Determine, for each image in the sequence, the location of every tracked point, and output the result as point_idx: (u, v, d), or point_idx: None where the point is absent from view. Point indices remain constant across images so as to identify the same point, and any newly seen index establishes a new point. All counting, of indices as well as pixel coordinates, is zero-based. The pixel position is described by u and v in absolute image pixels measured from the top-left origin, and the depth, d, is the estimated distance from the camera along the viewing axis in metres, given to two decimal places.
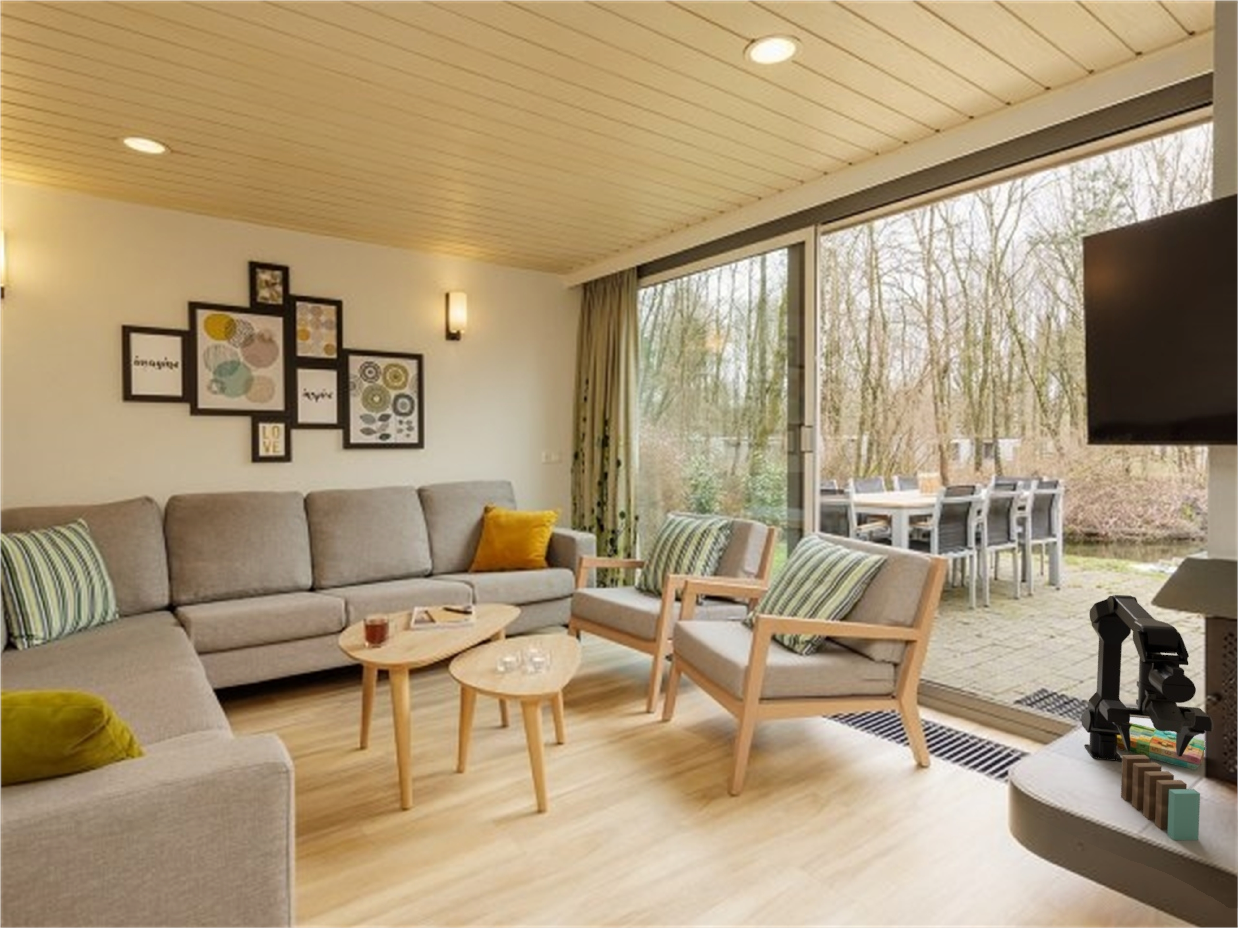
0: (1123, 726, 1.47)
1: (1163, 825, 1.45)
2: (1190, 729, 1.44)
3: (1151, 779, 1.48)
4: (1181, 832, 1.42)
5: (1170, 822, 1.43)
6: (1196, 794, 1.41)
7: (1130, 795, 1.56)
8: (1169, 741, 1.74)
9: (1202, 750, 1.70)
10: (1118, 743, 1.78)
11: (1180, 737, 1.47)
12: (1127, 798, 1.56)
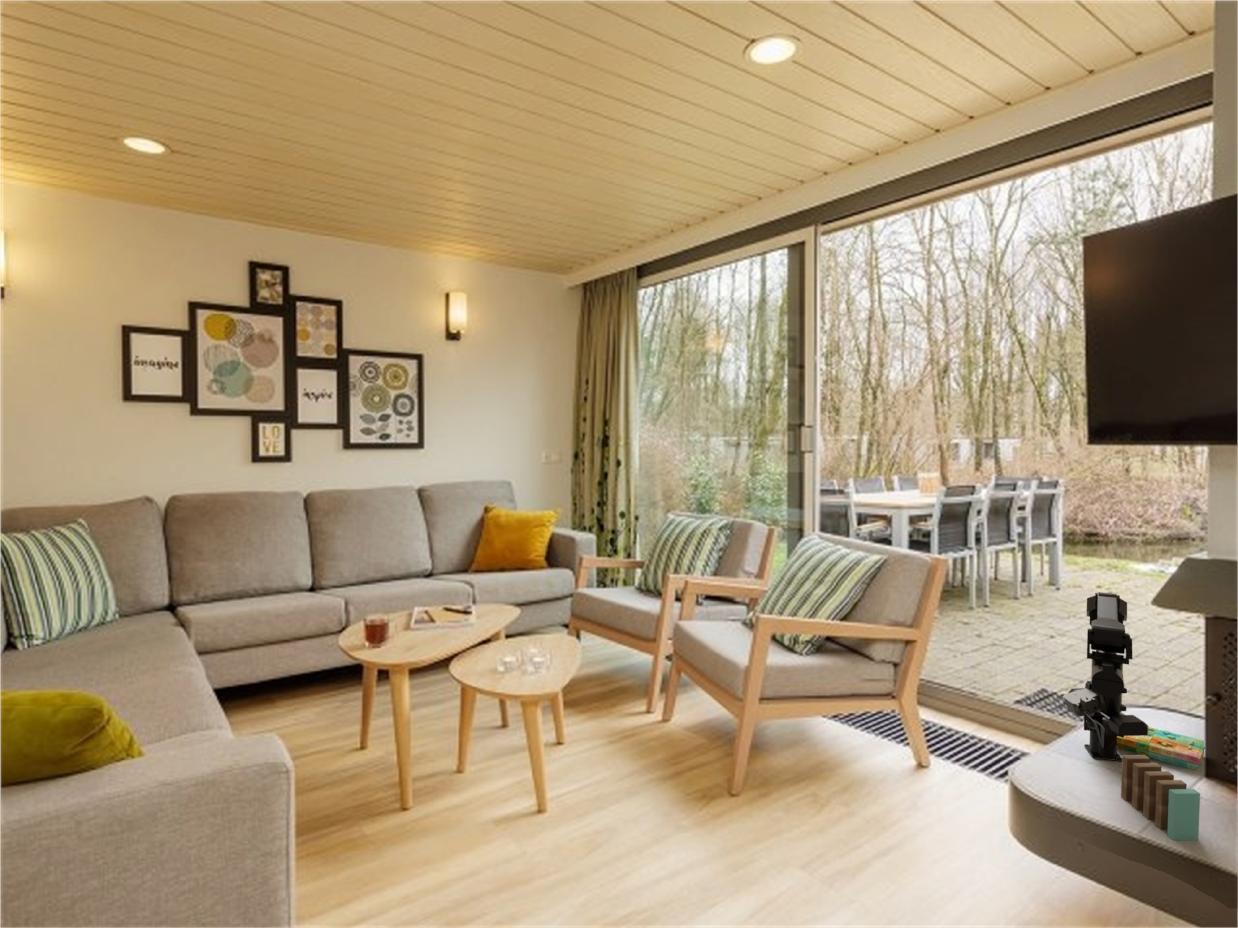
0: (1088, 716, 1.58)
1: (1163, 825, 1.45)
2: (1099, 720, 1.55)
3: (1151, 779, 1.48)
4: (1181, 832, 1.42)
5: (1170, 822, 1.43)
6: (1196, 794, 1.41)
7: (1130, 795, 1.56)
8: (1169, 741, 1.74)
9: (1202, 750, 1.70)
10: (1118, 743, 1.78)
11: None
12: (1127, 798, 1.56)
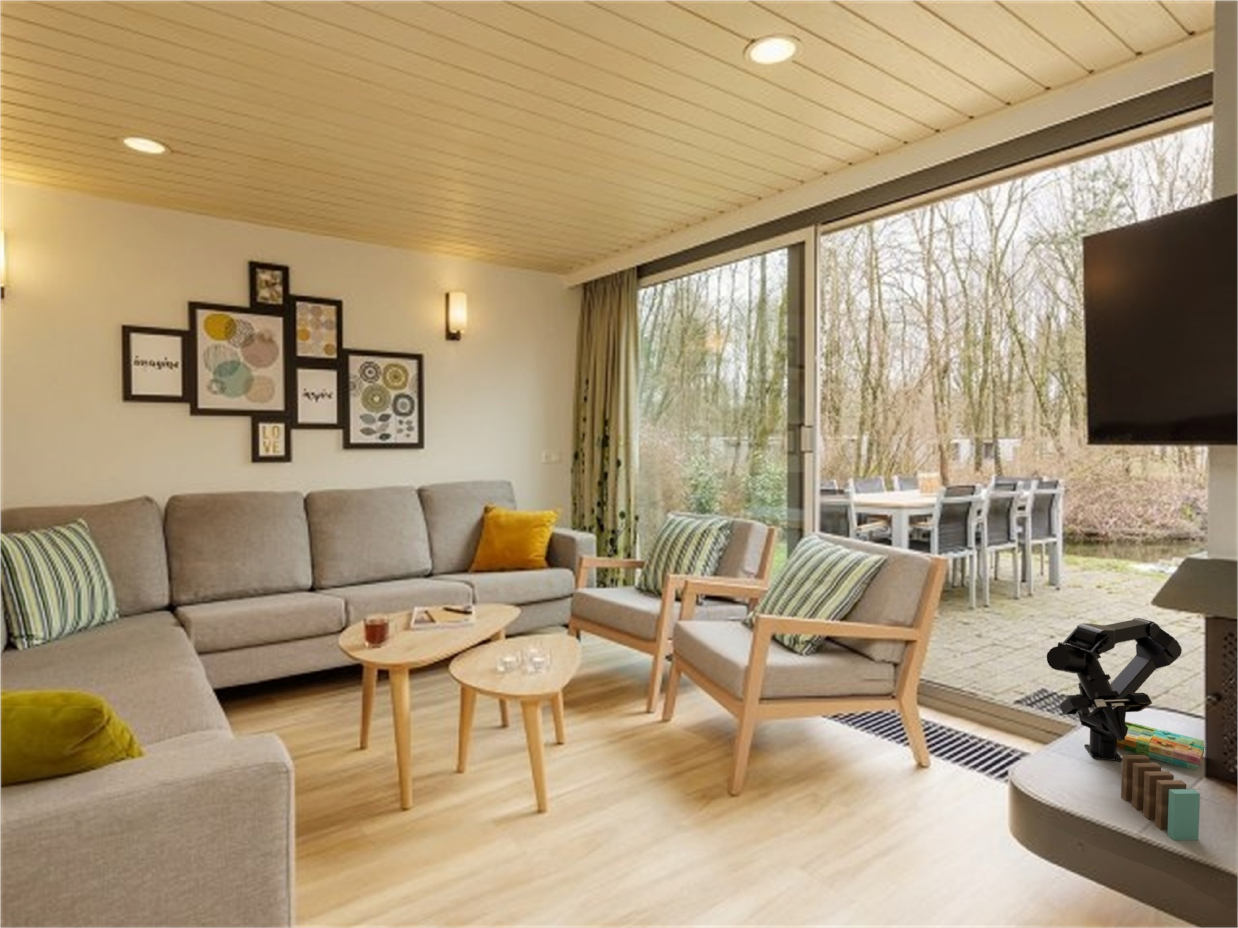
0: None
1: (1163, 825, 1.45)
2: None
3: (1151, 779, 1.48)
4: (1181, 832, 1.42)
5: (1170, 822, 1.43)
6: (1196, 794, 1.41)
7: (1130, 795, 1.56)
8: (1169, 741, 1.74)
9: (1202, 750, 1.70)
10: (1118, 743, 1.78)
11: None
12: (1127, 798, 1.56)
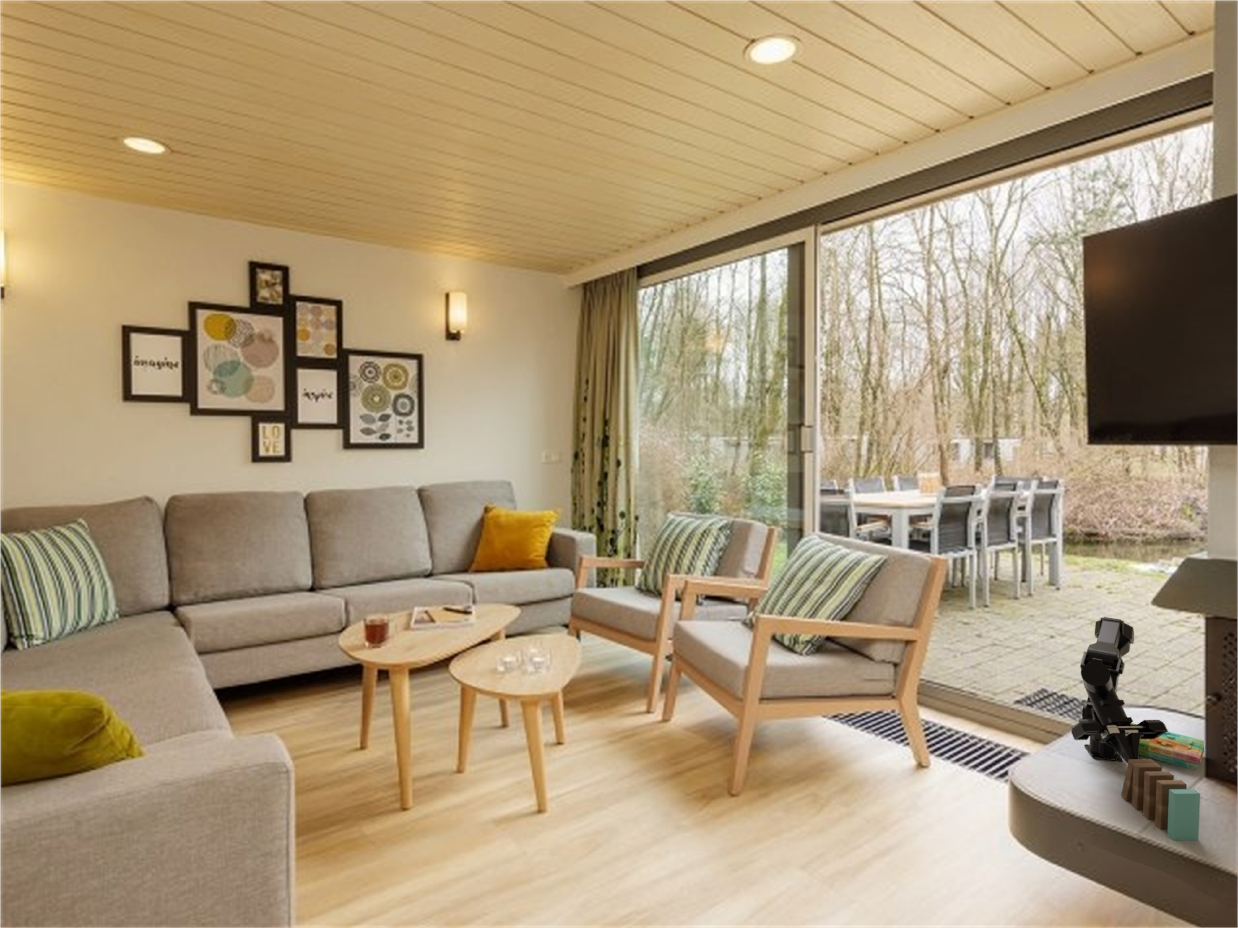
0: None
1: (1163, 825, 1.45)
2: None
3: (1151, 779, 1.48)
4: (1181, 832, 1.42)
5: (1170, 822, 1.43)
6: (1196, 794, 1.41)
7: (1131, 796, 1.55)
8: (1168, 741, 1.74)
9: (1201, 750, 1.70)
10: None
11: None
12: (1127, 798, 1.56)
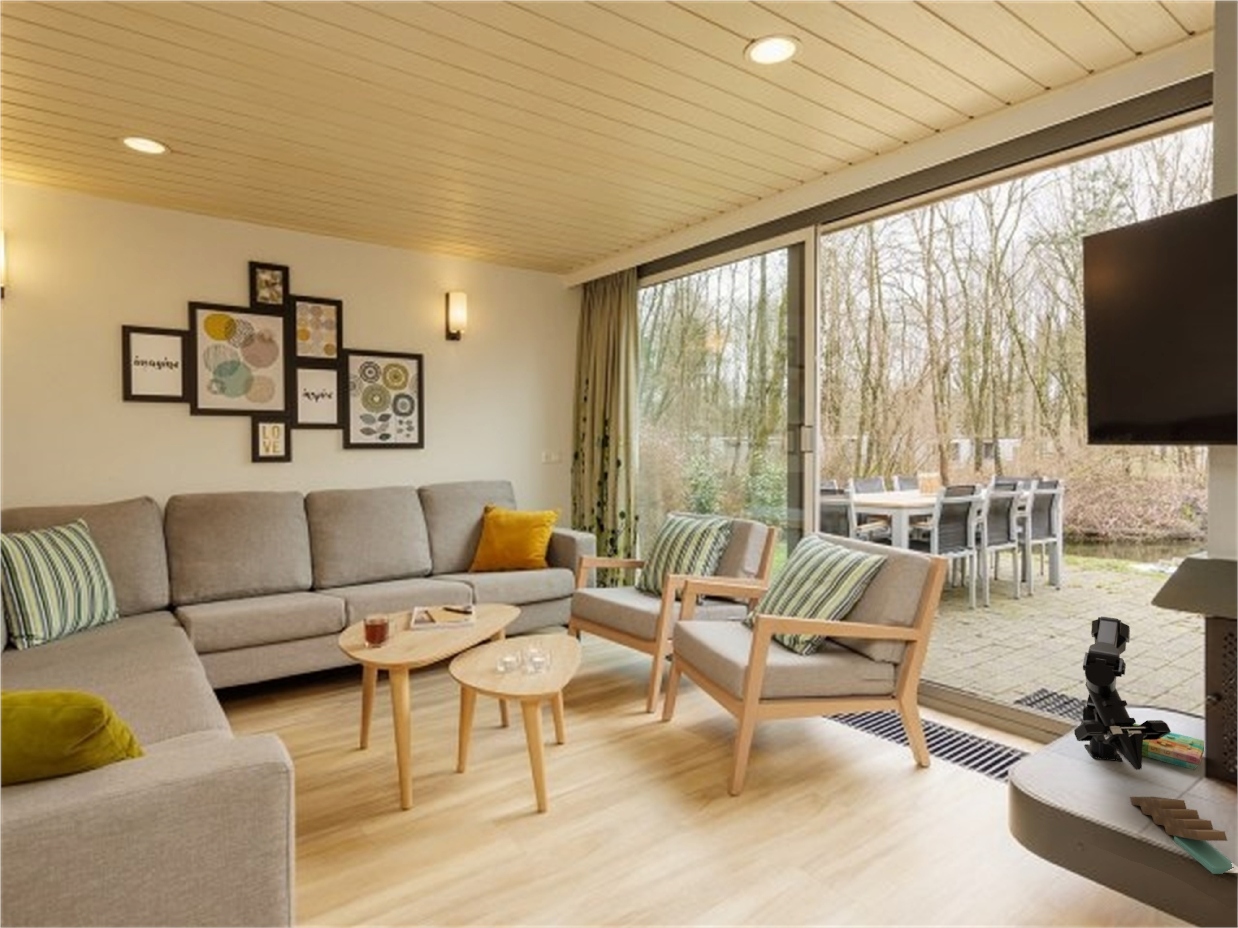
0: None
1: None
2: None
3: (1186, 828, 1.39)
4: None
5: (1185, 848, 1.39)
6: None
7: None
8: (1168, 741, 1.74)
9: (1201, 750, 1.70)
10: None
11: None
12: None
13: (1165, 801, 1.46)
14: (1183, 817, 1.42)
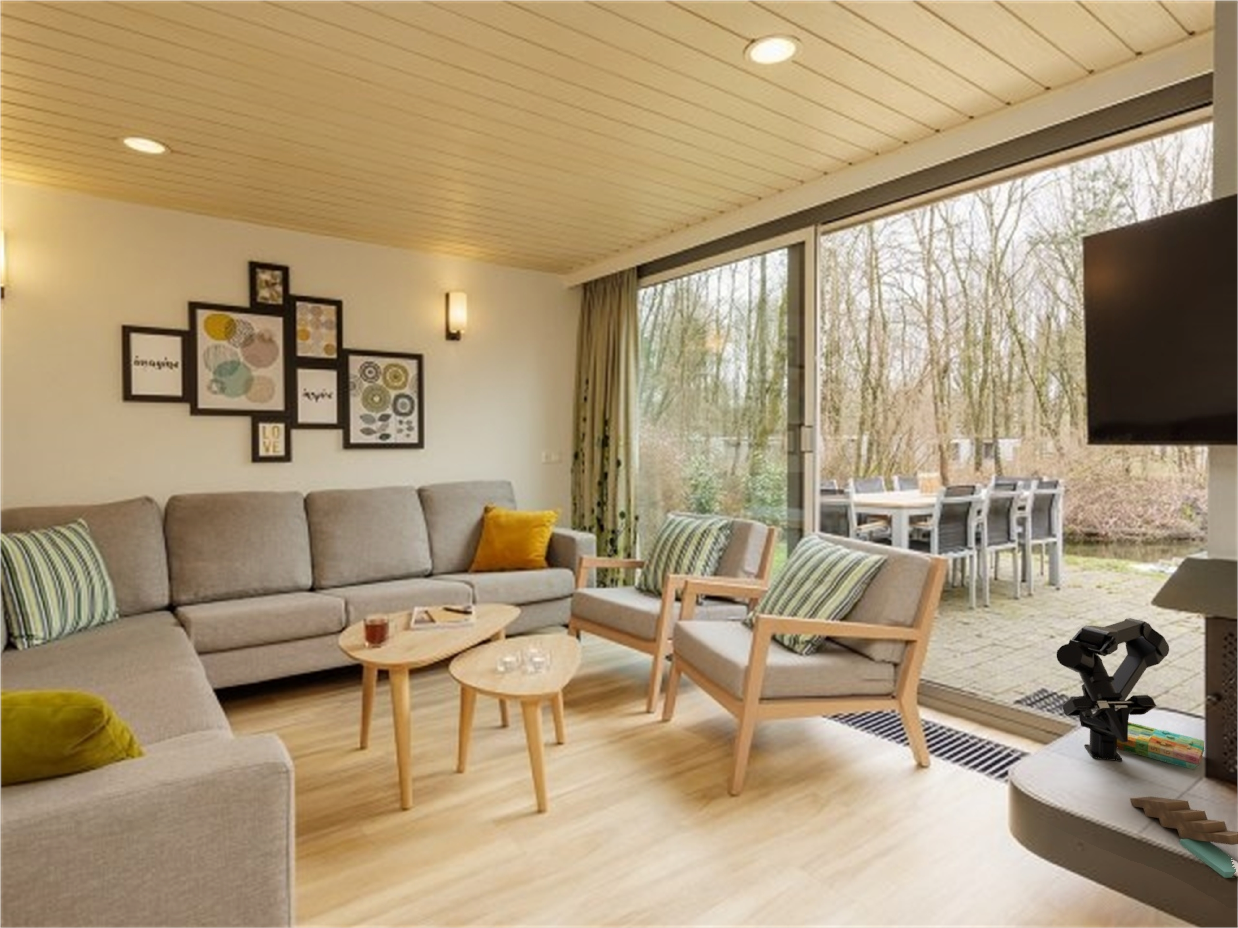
0: None
1: None
2: None
3: (1204, 831, 1.38)
4: None
5: (1193, 852, 1.37)
6: None
7: None
8: (1168, 741, 1.74)
9: (1201, 750, 1.70)
10: (1117, 742, 1.78)
11: None
12: None
13: (1171, 803, 1.45)
14: (1193, 819, 1.41)
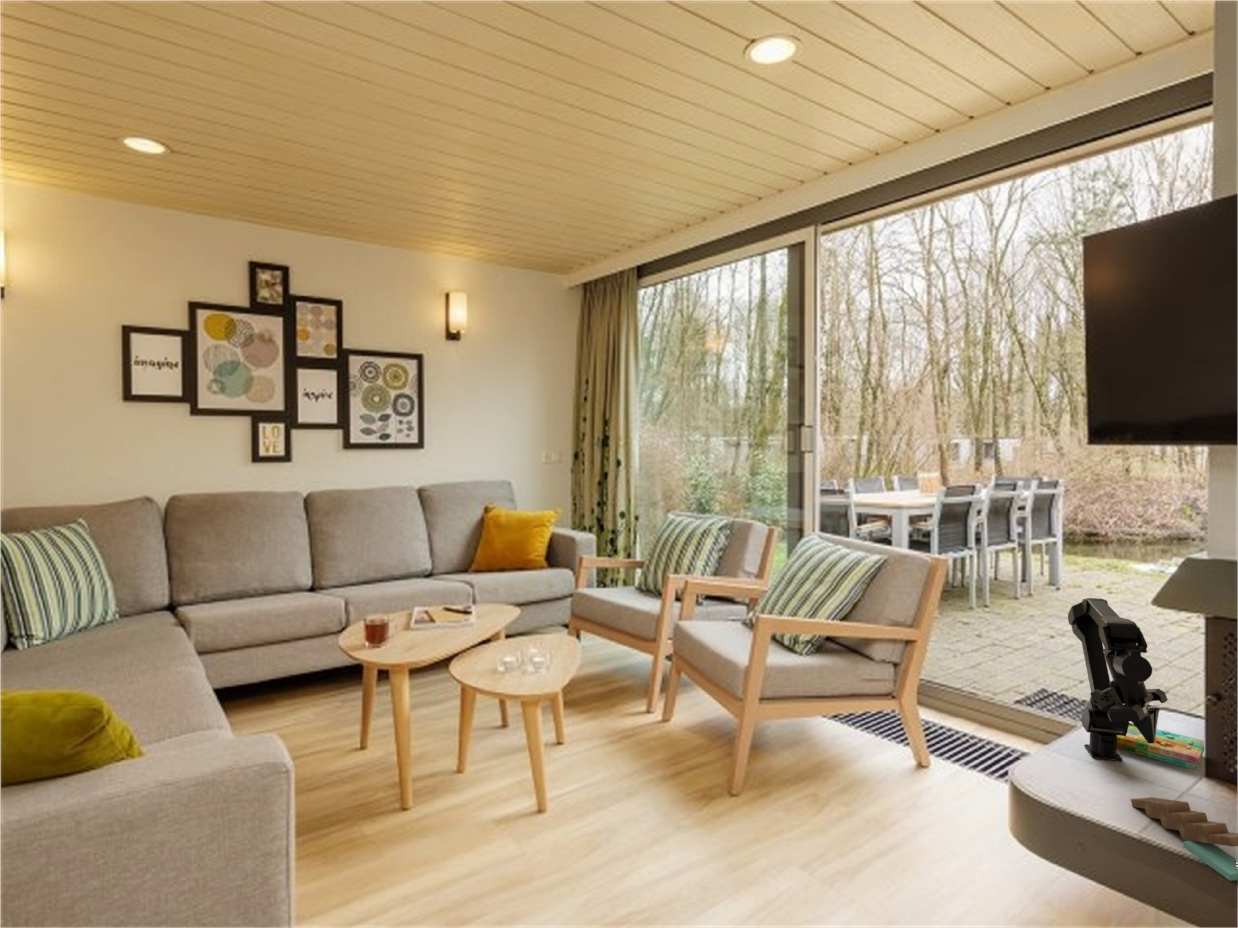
0: None
1: None
2: None
3: (1204, 833, 1.37)
4: None
5: (1197, 854, 1.37)
6: None
7: None
8: (1168, 741, 1.74)
9: (1201, 750, 1.70)
10: (1117, 742, 1.78)
11: None
12: (1136, 806, 1.53)
13: (1171, 804, 1.45)
14: (1193, 821, 1.41)
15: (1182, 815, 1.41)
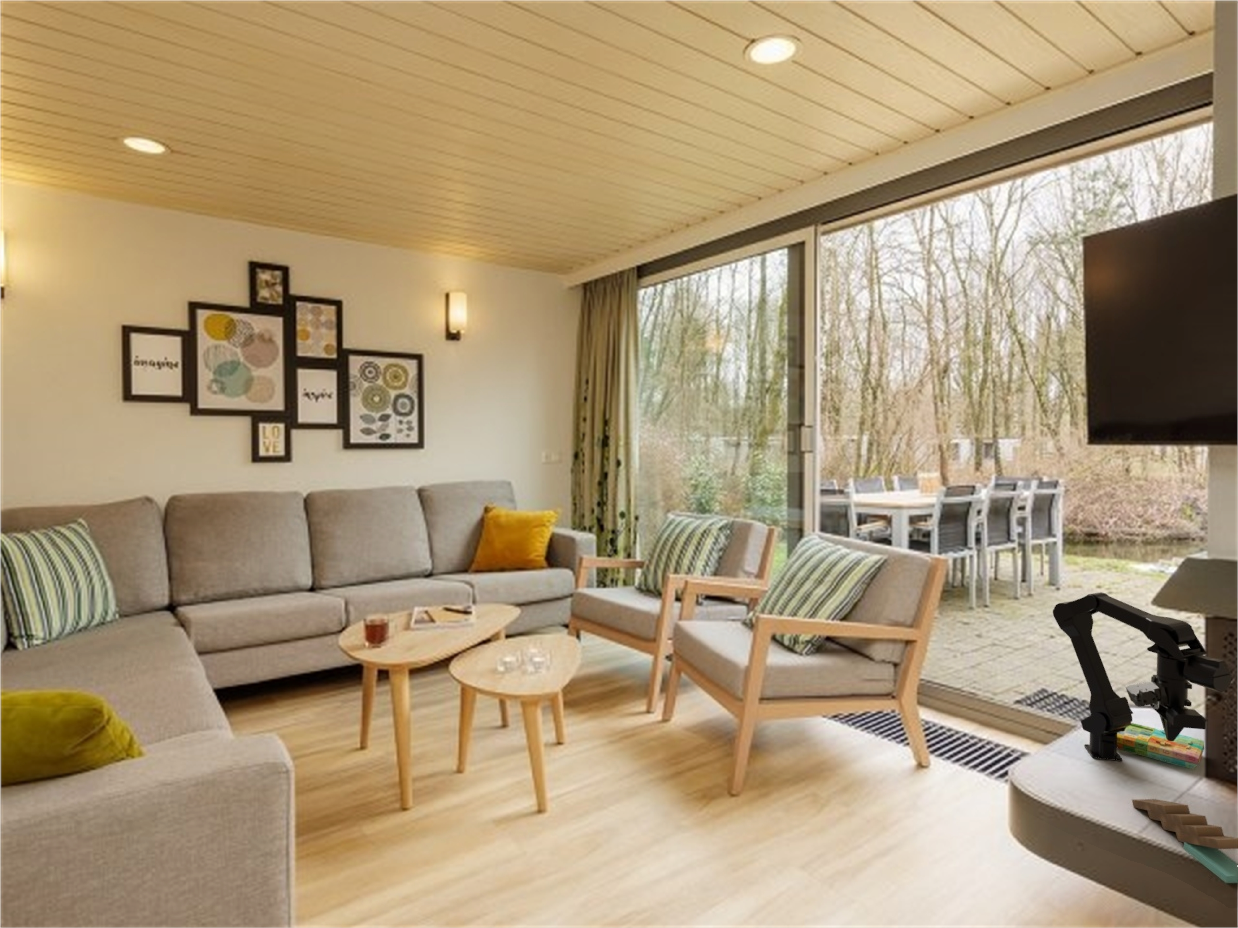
0: (1153, 708, 1.63)
1: None
2: (1162, 713, 1.59)
3: (1196, 835, 1.37)
4: None
5: (1196, 855, 1.36)
6: None
7: None
8: (1167, 740, 1.74)
9: (1200, 749, 1.70)
10: None
11: None
12: None
13: (1169, 806, 1.44)
14: (1191, 823, 1.40)
15: (1179, 817, 1.41)
